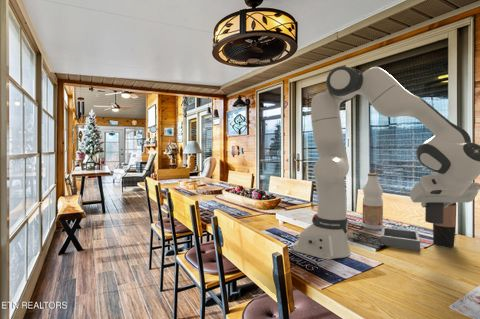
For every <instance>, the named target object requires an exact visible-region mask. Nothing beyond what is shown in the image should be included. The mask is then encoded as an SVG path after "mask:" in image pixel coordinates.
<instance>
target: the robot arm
mask: <svg viewBox="0 0 480 319" xmlns="http://www.w3.org/2000/svg"><path fill="white" fill-rule="evenodd" d="M325 84H326V85H325V86H326V90H324V91H322V92H320V93H316V95H315V94H314V96H313V97H312V99H311V102H310V103H311V105H310V116H311V117H310V119H311V127H312V135H313V142H314V144H315V147H316V150H317V154H318V159H317V160H316V162H315V163H314V166H313V169H312V170H313V171H312V172H313V176H314V183H315V189H316V198H317V199H316V200H317V201H316V202H317V211H316V212H317V213H315V214H314V215H313V216H312V218H311V222H312V224H310V225H309V226H307V227H306V228H304V229H303V230H302V231H301V232H300V233H299V236H298V240H296V241H295V242H294V243H293V244H292V251H294V252H298V253H301V254H303V255H309V256H312V257H315V258H320V259H323V260H333V259H343V258H344V259H345V258H347V257H349V256H350V255H351V249H350V246H349V241H348V231H349V220H348V217H347V207H348V206H347V193H346V181H345V180H346V176H347V175H348V173H349V170H350V165H349V160H348V153H347V150H346V145H345V140H344V135H343V129H342V128H343V127H342V120H341V111H340V107H341V105H344V104H346V103H347V102H349V101H352V100H353V99H354V98H356V97H357V95H360V96H362V97H363V98H365V99H366V100H367V102H369V104H370V105H371V106H372V108H374V110H375V111H376V112H377V113H378V114H379V115H381V116H383V117H386V118H398V117H409V118H410V117H411V118H413V119H414V118H415V120H417V121H419V123H421V124H422V125H423V126H424V127H426V128H427V129H428V130H429V131H430V132H431V133H432V135H433V136H431V137H430V138H429V139H427V140H425V141H424V142H423V143H422V144H420V145H419V146H418V147H417V149H416V158H417V161H418V162H419V163H420V164H421V165H422V166H423V167H426V168H427V169H429V170H430V171H433V172H435V173H432V174H428V175H422V176H421V177H420V178H419V182H417V183H416V184H415V185H414V186H413V187H412V189H411V190H410V191H409V197H410V199H411V202H413V203H415V204H416V203H420V206H421V207H422V208H425V207H427V206H428V204H427V203H428V202H444V207H447V206H448V205H451V204H453V203H455V202H456V203H470V202H472V201H474V200H475V198H476V197H477V196H478V193H479V191H480V183H479V182H473V181H475V180H476V179H477V178H478V177H479V176H480V144H478V143H474V142H472V138H471V136H470V135H469V133H468V132H467V131H466V129H463V127H460V126H458V124H457V125H456V124H455V123H453V122H451V121H450V120H449V119H447V118H446V117H445V115H443V114H442V113H441V112H439V111H438V110H437V109H436V108H434V107H433V105H431V104H430V103H429V102H427V101H426V100H425V99H424V98H422V97H420V96H418V95H414V94H413V93H411V92H410V91H409V90H407V89H405V87H403V86H402V85H401V84H400V83H399V82H398V80H397V79H395V78H394V77H393V75H391V74H389V72H387V71H386V70H384V69H383V68H381V67H380V66H373V67H370V68H368V69H366V70H364V72H362V70H360V69H356V68H352V67H350V66H346V65H345V66H344V65H343V66H341V65H340V66H337V67H335V68H333V69H332V70H331V71H330V72H329V73H328V75H327V77H326V83H325Z"/></svg>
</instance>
